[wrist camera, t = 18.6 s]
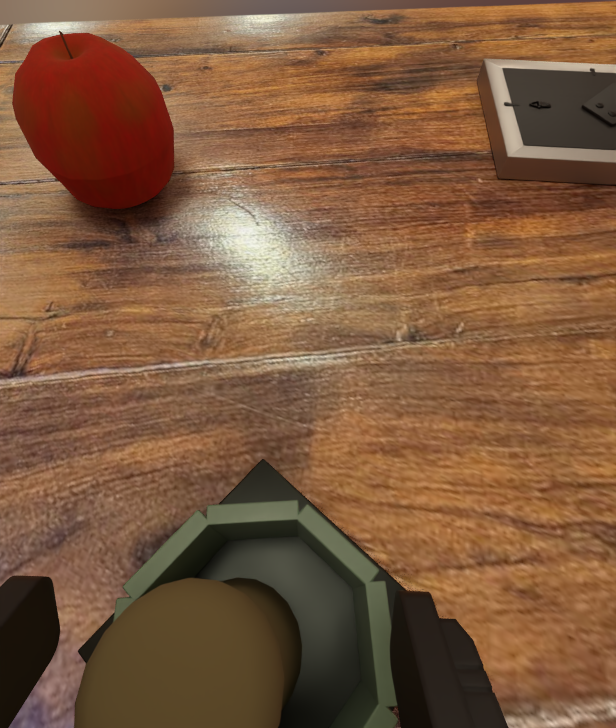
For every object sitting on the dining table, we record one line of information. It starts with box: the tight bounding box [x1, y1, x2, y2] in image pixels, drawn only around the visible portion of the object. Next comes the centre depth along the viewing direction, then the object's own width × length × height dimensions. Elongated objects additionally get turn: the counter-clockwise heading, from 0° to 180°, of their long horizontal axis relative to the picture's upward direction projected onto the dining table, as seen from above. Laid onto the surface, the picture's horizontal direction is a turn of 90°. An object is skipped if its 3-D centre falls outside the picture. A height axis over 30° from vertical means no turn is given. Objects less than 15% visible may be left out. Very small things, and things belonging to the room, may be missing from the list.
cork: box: [74, 577, 302, 728], centre depth 14 cm, size 6×6×11 cm
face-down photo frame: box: [477, 59, 616, 185], centre depth 39 cm, size 16×3×21 cm
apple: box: [12, 31, 174, 209], centre depth 31 cm, size 10×10×12 cm
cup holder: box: [78, 459, 407, 728], centre depth 18 cm, size 12×12×6 cm
